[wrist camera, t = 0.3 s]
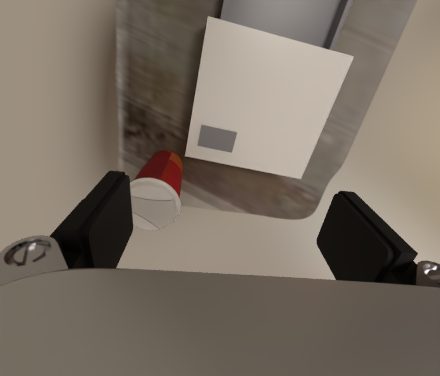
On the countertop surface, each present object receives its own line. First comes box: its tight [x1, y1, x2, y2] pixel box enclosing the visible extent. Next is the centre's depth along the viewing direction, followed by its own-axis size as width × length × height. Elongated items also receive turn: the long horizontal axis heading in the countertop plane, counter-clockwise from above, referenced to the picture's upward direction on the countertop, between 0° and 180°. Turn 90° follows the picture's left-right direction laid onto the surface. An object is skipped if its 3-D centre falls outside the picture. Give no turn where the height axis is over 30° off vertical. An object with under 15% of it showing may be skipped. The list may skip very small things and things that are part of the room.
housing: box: [185, 16, 354, 179], centre depth 35 cm, size 17×18×7 cm
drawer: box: [220, 0, 353, 51], centre depth 30 cm, size 17×16×6 cm
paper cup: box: [130, 150, 183, 231], centre depth 36 cm, size 8×8×14 cm
